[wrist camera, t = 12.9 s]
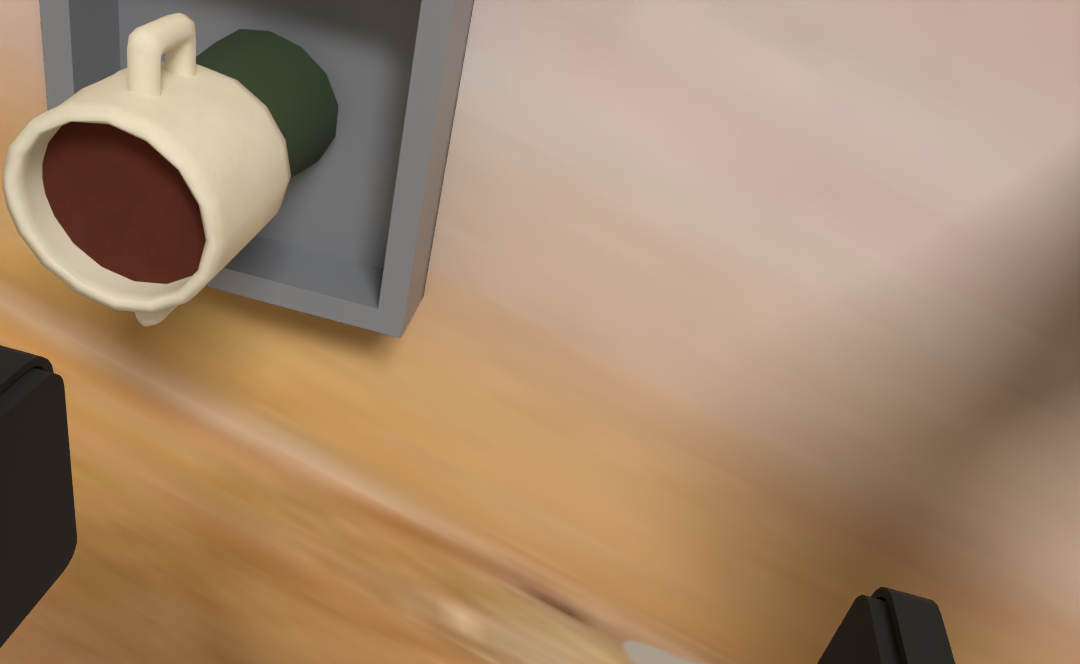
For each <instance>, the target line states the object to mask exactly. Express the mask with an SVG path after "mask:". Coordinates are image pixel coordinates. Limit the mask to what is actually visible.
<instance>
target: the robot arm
mask: <svg viewBox="0 0 1080 664" xmlns="http://www.w3.org/2000/svg"><path fill="white" fill-rule="evenodd" d="M76 543H77V532H76V520H75V509H74V497H73V485H72V473H71V461H70V449H69V437H68V425H67V413H66V402H65V390H64V383H63V379H62V378H61V376H60V375H57V374H55V373H54V372H53V368H52V364H51V363H50V362H49V360H48V359H46V358H44V357H41V356H37V355H34V354H30V353H26V352H23V351H19V350H15V349H12V348H8V347H4V346H1V345H0V648H1V646H2V645H3V644H4V643H5V642H6V640H7V639H8V638H9V637H10V635H11V634H12V633H13V632H14V631H15V629H16V628H17V627H18V626H19V625H20V623H21V622H22V621H23V620H24V619H25V617H26V616H27V615H28V614H29V612H30V611H31V610H32V609H33V608H34V606H35V605H36V604H37V603H38V602H39V600H40V599H41V598H42V597H43V596H44V594H45V593H46V592H47V591H48V589H49V588H50V587H51V586H52V585H53V583H54V582H55V581H56V580H57V579H58V577H59V576H60V575H61V574H62V573H63V571H64V570H65V569H66V567H67V566H68V564H69V562H70V560H71V559H72V556H73V554H74V551H75V547H76ZM818 664H955V661H954V658H953V654H952V651H951V647H950V644H949V640H948V637H947V633H946V630H945V626H944V623H943V619H942V616H941V613H940V610H939V608H938V606H937V604H936V603H935V602H934V601H933V600H929V599H926V598H922V597H918V596H915V595H911V594H907V593H904V592H900V591H896V590H893V589H889V588H885V587H880V588H879V589H877V590H876V591H875V592H874V593H873V595H872V596H871V597H869V596H865V595H860V596H858V597H857V598H856V600H855V601H854V602H853V604H852V606H851V608H850V609H849V611H848V613H847V614H846V616H845V618H844V619H843V621H842V623H841V625H840V626H839V628H838V630H837V631H836V633H835V635H834V636H833V638H832V640H831V641H830V643H829V645H828V647H827V648H826V650H825V652H824V653H823V655H822V657H821V658H820V660H819V662H818Z"/></svg>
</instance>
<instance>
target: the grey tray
mask: <svg viewBox="0 0 1080 664" xmlns="http://www.w3.org/2000/svg"><path fill="white" fill-rule="evenodd" d="M39 4H40V17H41V30H42V43H43V56H44V69H45V82H46V95H47V108H48V110H51V109H53V108H55V107H57V106H59V105H61V104H62V103H63V102H65V101H66V100H67V99H69V98H70V97H71V96H73V95H74V94H76V93H77V92H78V91H80V90H81V89H82V88H85V87H87V86H89V85H92V84H94V83H96V82H99V81H101V80H103V79H105V78H107V77H109V76H111V75H113V74H115V73H117V72H118V71H120V70H123V69H125V68H127V45H128V39H129V35H130V34H131V33H132V32H133V31H134V30H135V29H136V28H137V27H140V26H142V25H145V24H147V23H149V22H152V21H154V20H157V19H159V18H161V17H164V16H166V15H170V14H175V13H181V14H185V15H187V16H188V17H189V18H190V19H191V20H192V21H194V24H195V30H196V57H197V56H198V55H199V54H201V53H202V52H203V51H204V50H206V49H207V48H208V47H210V46H211V45H212V44H214V43H215V42H217V41H219V40H221V39H222V38H224V37H226V36H228V35H230V34H231V33H233V32H235V31H237V30H239V29H250V30H264V31H271V32H273V33H275V34H277V35H279V36H281V37H283V38H285V39H287V40H289V41H291V42H293V43H295V44H297V45H299V46H301V47H302V48H303V49H304V50H305V51H306V52H307V53H308V54H309V56H310V57H311V58H312V59H313V60H314V61H315V62H316V63H317V64H318V65H319V66H320V67H321V68H322V69H323V71H324V72H325V73H326V74H327V77H328V79H329V82H330V84H331V87H332V90H333V92H334V95H335V97H336V100H337V103H338V105H339V106H338V116H337V127H336V137H335V138H334V139H333V141H332V142H331V144H330V145H329V147H328V148H327V150H326V151H325V152H324V154H323V155H322V157H321V158H320V160H319V161H318V162H316V163H315V164H313V165H312V166H310V167H309V168H307V169H306V170H304V171H302V172H301V173H299V174H297V175H295V176H293V177H292V178H290V181H289V184H288V187H287V190H286V193H285V196H284V199H283V202H282V205H281V207H280V209H279V211H278V213H277V214H276V215H275V216H274V217H273V218H272V219H271V220H270V221H269V222H268V223H267V224H266V225H265V226H264V227H263V228H262V230H261V231H260V232H259V233H258V234H257V235H256V236H255V237H254V238H253V239H252V240H251V241H250V242H249V243H248V244H247V245H246V246H245V247H244V248H243V249H242V250H241V251H240V252H239V253H238V254H237V255H236V256H235V257H234V258H233V259H232V260H231V261H230V262H229V263H228V264H227V265H226V266H225V267H224V268H223V269H222V270H221V271H220V272H219V273H218V274H217V275H216V276H215V277H214V278H213V279H212V280H211V281H210V282H209V283H208V284H207V285H206V287H210V288H214V289H218V290H221V291H225V292H229V293H233V294H236V295H240V296H244V297H248V298H251V299H255V300H259V301H263V302H266V303H270V304H274V305H278V306H281V307H285V308H289V309H293V310H296V311H300V312H304V313H308V314H311V315H315V316H319V317H323V318H326V319H330V320H334V321H338V322H341V323H345V324H349V325H353V326H356V327H360V328H364V329H368V330H371V331H375V332H379V333H383V334H386V335H390V336H394V337H398V338H401V337H402V335H403V333H404V331H405V329H406V327H407V326H408V324H409V322H410V320H411V318H412V316H413V314H414V313H415V311H416V309H417V307H418V305H419V303H420V302H421V300H422V298H423V295H424V290H425V284H426V278H427V272H428V266H429V260H430V255H431V249H432V243H433V237H434V231H435V225H436V220H437V214H438V208H439V202H440V196H441V190H442V185H443V179H444V173H445V167H446V161H447V155H448V149H449V144H450V138H451V132H452V126H453V120H454V114H455V109H456V103H457V97H458V91H459V85H460V79H461V74H462V68H463V62H464V56H465V50H466V44H467V39H468V33H469V27H470V21H471V15H472V9H473V4H474V0H39ZM161 62H165V53H164V54H163V55H162V56H161Z"/></svg>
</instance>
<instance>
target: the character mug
mask: <svg viewBox="0 0 1080 664" xmlns="http://www.w3.org/2000/svg"><path fill="white" fill-rule="evenodd" d="M164 53H165V62H161V56H162V55H163V54H164ZM338 106H339V105H338V103H337V100H336V97H335V95H334V92H333V90H332V87H331V84H330V82H329V79H328V77H327V74H326V73H325V72H324V71H323V69H322V68H321V67H320V66H319V65H318V64H317V63H316V62H315V61H314V60H313V59H312V58H311V57H310V56H309V54H308V53H307V52H306V51H305V50H304V49H303V48H302V47H301V46H299V45H297V44H295V43H293V42H291V41H289V40H287V39H285V38H283V37H281V36H279V35H277V34H275V33H273V32H271V31H264V30H250V29H239V30H237V31H235V32H233V33H231V34H230V35H228V36H226V37H224V38H222V39H221V40H219V41H217V42H215V43H214V44H212V45H211V46H210V47H208V48H207V49H206V50H204V51H203V52H202V53H201V54H199V55H198V56H197V57H196V30H195V24H194V21H192V20H191V19H190V18H189V17H188V16H187V15H185V14H181V13H175V14H170V15H166V16H164V17H161V18H159V19H157V20H154V21H152V22H149V23H147V24H145V25H142V26H140V27H137V28H136V29H135V30H134V31H133V32H132V33H131V34H130V35H129V39H128V45H127V68H125V69H123V70H120V71H118V72H117V73H115V74H113V75H111V76H109V77H107V78H105V79H103V80H101V81H99V82H96V83H94V84H92V85H89V86H87V87H85V88H82V89H81V90H80V91H78V92H77V93H76V94H74V95H73V96H71V97H70V98H69V99H67V100H66V101H65V102H63V103H62V104H61V105H59V106H57V107H55V108H53V109H51V110H48V111H46V112H44V113H42V114H40V115H38V116H37V117H36V118H34V119H33V120H32V121H31V122H29V124H28V125H27V126H26V127H25V128H24V130H23V131H22V132H21V133H20V134H19V136H18V137H17V138H16V139H15V140H14V142H13V143H12V144H11V145H10V146H9V149H8V153H7V157H6V161H5V164H4V168H3V191H4V196H5V200H6V204H7V208H8V210H9V213H10V215H11V217H12V220H13V222H14V224H15V227H16V229H17V231H18V233H19V235H20V236H21V237H22V239H23V240H24V241H25V243H26V244H27V245H28V247H29V248H30V249H31V250H32V252H33V253H34V254H35V256H36V257H37V258H38V260H39V261H40V262H41V264H42V265H43V266H44V267H45V268H47V269H48V270H49V271H50V272H52V273H53V274H54V275H55V276H57V277H58V278H59V279H60V280H62V281H63V282H64V283H65V284H66V285H68V286H69V287H70V288H71V289H73V290H74V291H75V292H76V293H79V294H81V295H83V296H85V297H87V298H90V299H92V300H94V301H96V302H98V303H101V304H103V305H105V306H107V307H109V308H112V309H114V310H120V311H131V312H134V313H135V316H136V319H137V320H138V321H139V322H140V323H141V324H142V325H143V326H144V327H146V326H151V325H156V324H158V323H160V322H162V321H163V320H164V319H165V318H166V317H167V316H168V315H169V314H170V313H171V312H172V311H173V310H174V309H175V308H176V307H177V306H178V305H182V304H185V303H187V302H188V301H190V300H191V299H192V298H194V297H195V296H196V295H197V294H198V293H199V292H200V291H201V290H202V289H203V288H204V287H205V286H206V285H207V284H208V283H209V282H210V281H211V280H212V279H213V278H214V277H215V276H216V275H217V274H218V273H219V272H220V271H221V270H222V269H223V268H224V267H225V266H226V265H227V264H228V263H229V262H230V261H231V260H232V259H233V258H234V257H235V256H236V255H237V254H238V253H239V252H240V251H241V250H242V249H243V248H244V247H245V246H246V245H247V244H248V243H249V242H250V241H251V240H252V239H253V238H254V237H255V236H256V235H257V234H258V233H259V232H260V231H261V230H262V228H263V227H264V226H265V225H266V224H267V223H268V222H269V221H270V220H271V219H272V218H273V217H274V216H275V215H276V214H277V213H278V211H279V209H280V207H281V205H282V202H283V199H284V196H285V193H286V190H287V187H288V184H289V181H290V178H292V177H293V176H295V175H297V174H299V173H301V172H302V171H304V170H306V169H307V168H309V167H310V166H312V165H313V164H315V163H316V162H318V161H319V160H320V158H321V157H322V155H323V154H324V152H325V151H326V150H327V148H328V147H329V145H330V144H331V142H332V141H333V139H334V138H335V137H336V127H337V116H338Z"/></svg>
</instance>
